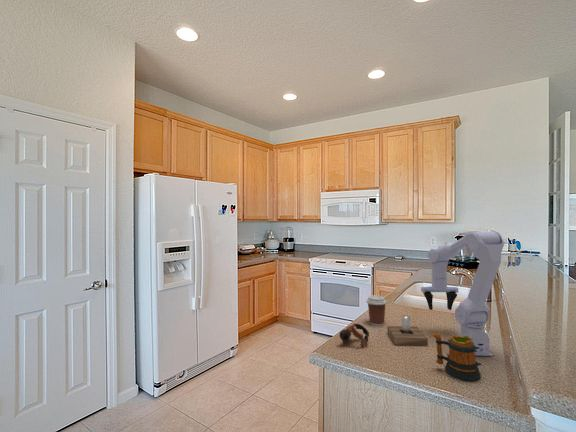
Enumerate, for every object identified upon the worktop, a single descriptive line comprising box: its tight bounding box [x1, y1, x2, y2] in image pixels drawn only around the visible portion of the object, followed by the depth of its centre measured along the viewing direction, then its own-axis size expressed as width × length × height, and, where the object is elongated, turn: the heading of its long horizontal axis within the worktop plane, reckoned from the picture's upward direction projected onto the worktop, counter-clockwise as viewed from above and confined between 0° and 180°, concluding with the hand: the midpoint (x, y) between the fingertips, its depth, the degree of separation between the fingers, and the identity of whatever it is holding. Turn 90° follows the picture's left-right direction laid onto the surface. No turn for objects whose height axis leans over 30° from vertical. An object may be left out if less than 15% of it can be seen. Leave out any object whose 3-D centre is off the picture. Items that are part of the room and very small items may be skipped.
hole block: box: [387, 325, 429, 347], centre depth 117 cm, size 12×12×3 cm
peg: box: [401, 314, 411, 334], centre depth 117 cm, size 3×3×9 cm
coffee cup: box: [366, 294, 388, 326], centre depth 136 cm, size 9×9×12 cm
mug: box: [432, 332, 482, 383], centre depth 92 cm, size 13×10×12 cm
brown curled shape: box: [339, 322, 370, 348], centre depth 114 cm, size 12×10×8 cm
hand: (440, 309), depth 124 cm, fingers open, 7 cm apart
